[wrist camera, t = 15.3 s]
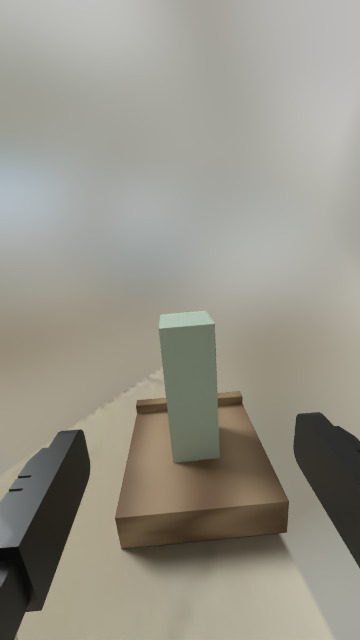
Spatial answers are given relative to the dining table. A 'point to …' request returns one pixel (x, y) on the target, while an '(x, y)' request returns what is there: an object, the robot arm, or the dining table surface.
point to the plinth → (198, 483)
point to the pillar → (190, 384)
